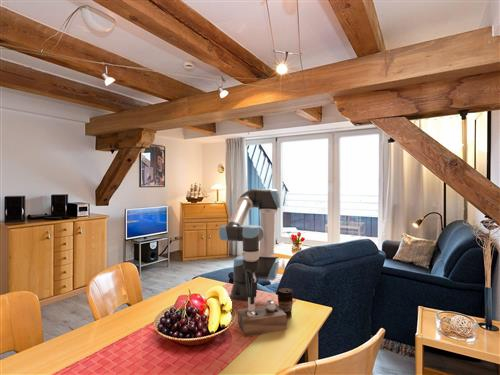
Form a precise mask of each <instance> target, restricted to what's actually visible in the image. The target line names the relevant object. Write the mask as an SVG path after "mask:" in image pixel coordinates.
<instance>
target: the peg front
mask: <svg viewBox="0 0 500 375" xmlns="http://www.w3.org/2000/svg"><path fill="white" fill-rule="evenodd" d="M255 315H256V312H255V311H248V312H247V316H248V317H249V316H255Z"/></svg>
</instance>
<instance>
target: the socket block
mask: <svg viewBox="0 0 500 375" xmlns="http://www.w3.org/2000/svg"><path fill="white" fill-rule="evenodd" d="M248 311H249V310H248V307H245V308H243V307H242V308H238V309H237V325H238V327H239V329H240V331H241V333H242V335H243V337H244V338H246V337H253V336H258V335H264V334H269V333H276V332H281V331H286V330H287V327H288V326H287V324H288V323H287V319H288V318H286V313H285V312H284V311H283V310H282V309H281V308H280V307H279V305H278V303H276V312H275V313H268V312H267V304H266V305H265V304H264V305H258V306H255V310H252V311H255V312H256V315H255V316H249V317H248V316H247V312H248Z"/></svg>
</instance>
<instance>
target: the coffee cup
mask: <svg viewBox="0 0 500 375" xmlns="http://www.w3.org/2000/svg"><path fill="white" fill-rule="evenodd" d="M294 294H295V292H294V291H293V289H292V288H288V287H283V288H279V289H278V290H277V292H276V295H277V305H278V306H279V307H280V308H281V309H282V310H283V311H284V312H285V313H286V319H288V318H291V317H292V316H293V315H292V313H293V312H292V310H293V303H294V302H293V299H294Z"/></svg>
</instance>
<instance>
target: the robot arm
mask: <svg viewBox="0 0 500 375" xmlns="http://www.w3.org/2000/svg"><path fill="white" fill-rule="evenodd" d="M280 207H281V199H280V194H279V190H278V189H276V188H252V189H249V190H247V191H245V192H243V193H242V194H241V195H240V196H239V198H238V199H237V203H236V206H235V209H234V211H233V213H232V215H231V217H230V218H229V220H228V222H227V224H225V225H221V226H220V227H219V229H218V237H219V240H221V241H226V242H242V253H241V255H239V256H236V257H235V258H234V259H233V266H232V267H233V284H232V288H231V290H230V296H231V298H232V299H235V300H236V301H237V300H238V301H247V308H248V310H249V311H252V310H255V307H256V305H255V304H256V303H255V302H256V301H255V298H256V297H257V294H258V292H257V289H258V282H259V280H265V281H274V280H276V278H277V276H278V271H279V263H280V262H279V260H278V259H277V256H276V255H275V250H274V249H275V224H276V223H275V222H276V221H275V220H276V218H275V217H276V216H275V215H276V213H277V212H278V209H279V208H280ZM252 208H258V212H259V213H260V223H259V225H255V224H249V225H248V224H247V225H243V224H244V222H245V220H246V218H247V215H248V213H249V211H250V210H252Z"/></svg>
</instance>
